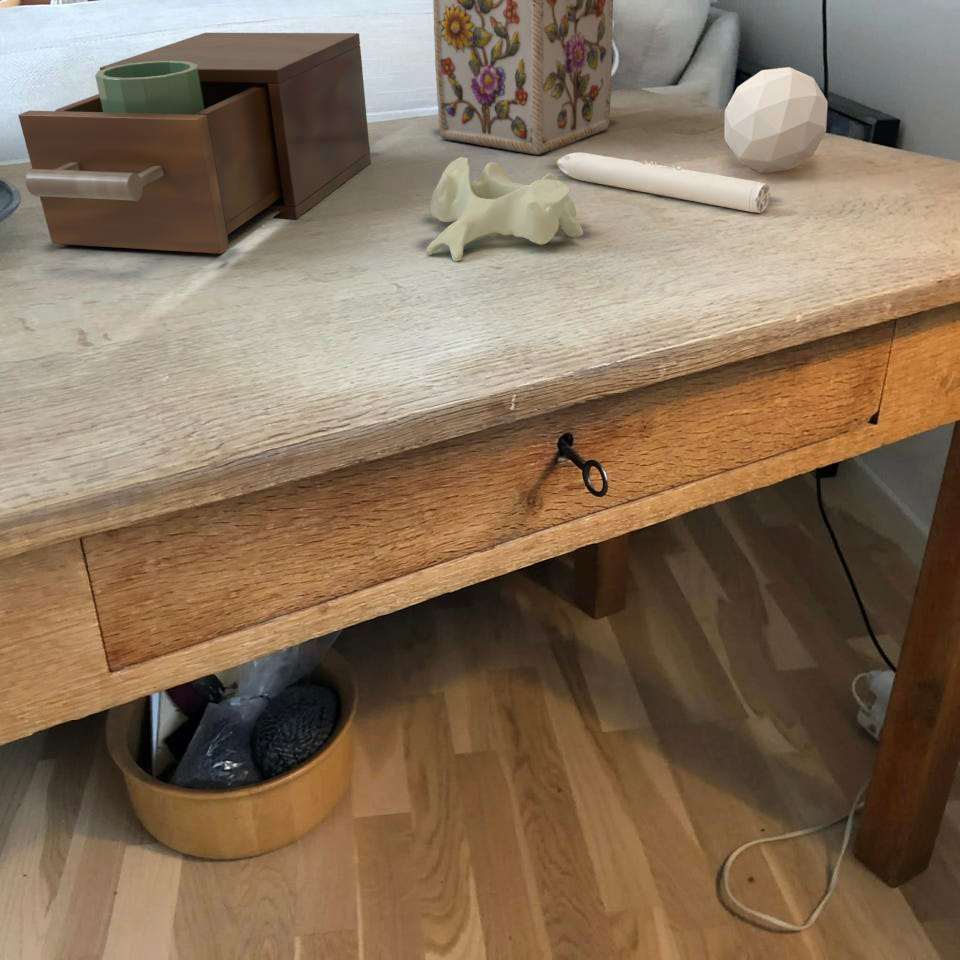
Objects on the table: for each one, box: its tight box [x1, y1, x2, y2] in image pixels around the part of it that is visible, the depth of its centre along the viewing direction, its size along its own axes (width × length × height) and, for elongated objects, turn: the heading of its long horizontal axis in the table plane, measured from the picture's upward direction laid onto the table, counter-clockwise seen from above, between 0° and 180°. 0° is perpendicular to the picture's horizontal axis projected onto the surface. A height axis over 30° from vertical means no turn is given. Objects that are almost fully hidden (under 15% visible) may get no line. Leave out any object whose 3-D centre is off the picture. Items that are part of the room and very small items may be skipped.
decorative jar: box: [432, 0, 614, 156], centre depth 89 cm, size 12×12×18 cm
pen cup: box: [94, 61, 205, 115], centre depth 69 cm, size 6×6×9 cm
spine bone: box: [426, 156, 584, 262], centre depth 68 cm, size 12×10×5 cm
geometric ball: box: [724, 66, 829, 174], centre depth 79 cm, size 8×8×8 cm
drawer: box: [18, 82, 283, 254], centre depth 69 cm, size 19×13×8 cm, turn 165°
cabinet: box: [99, 32, 372, 220], centre depth 80 cm, size 16×14×10 cm
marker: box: [556, 152, 771, 214], centre depth 76 cm, size 18×2×2 cm, turn 50°
